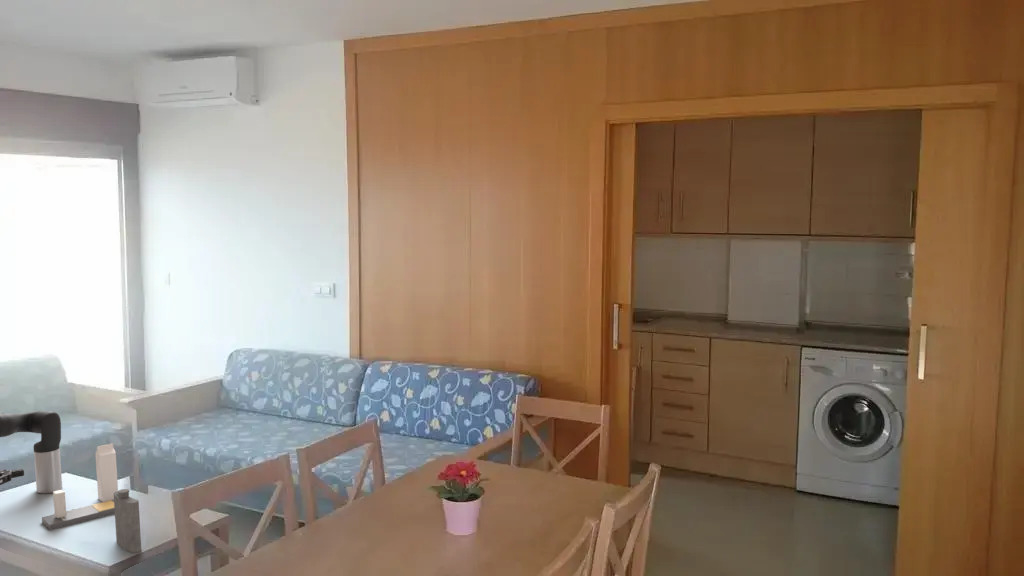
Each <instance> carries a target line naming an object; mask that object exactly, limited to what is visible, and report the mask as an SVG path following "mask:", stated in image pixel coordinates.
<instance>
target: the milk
mask: <svg viewBox="0 0 1024 576" xmlns="http://www.w3.org/2000/svg"><path fill="white" fill-rule="evenodd" d="M94 453H95V454H94V455H95V467H96V483H97V485H96V486H97V498H98V499H99V501H101V503H102V502H106V501H110V500H114V492H116V491H119V484H118V483H119V482H118V470H117V467H118V466H117V455H116V454H117V452H116V450H115V448H114V444H113V443H109V444H104V445H98V446H97V447H96V451H95V452H94Z"/></svg>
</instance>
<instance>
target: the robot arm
mask: <svg viewBox="0 0 1024 576" xmlns="http://www.w3.org/2000/svg"><path fill="white" fill-rule="evenodd" d="M16 433H35V434H40V441H37V442H36V443H34V444H33V457H34V471H35V484H36V485H35V487H36V493H38V494H49V493H50V494H51V493H53V491H58V490H63V480H62V479H63V478H62V477H63V476H62V465H61V463H62V461H61V452H60V451H61V449H60V448H61V447H60V443H61V440H62V421H61V417H60V415H59V413H58V412H56V411H49V410H35V411H30V412H24V413H6V412H4V413H3V412H1V413H0V438H4V437H8V436H11V435H14V434H16ZM23 476H25V470H24V469H23V468H18V469H14V470H10V469H8V470H7V469H0V486H1V485H4V484H7V483H8V482H11V481H12V480H13V479H14V478H19V477H23Z"/></svg>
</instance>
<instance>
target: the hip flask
mask: <svg viewBox="0 0 1024 576" xmlns="http://www.w3.org/2000/svg"><path fill="white" fill-rule="evenodd" d="M113 500H114V508H115V513H114V520H115V537H116V544H117V545H118V546H119V547H120V548H121V549H123V550H125V551H127V552H129V553H131V554H137V553H140V552H141V551H142V537H141V520H140V504H139V503H140V502H139V499H136V498H133V497H131V496H130V489H129V488H122V489H118V491H116V492H114V499H113Z"/></svg>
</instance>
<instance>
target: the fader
mask: <svg viewBox="0 0 1024 576" xmlns="http://www.w3.org/2000/svg"><path fill="white" fill-rule="evenodd" d="M52 497H53V511H54V514H55V516H56V517H57V518H60V517H64V516H66V511H67V506H66V504H67V503H66V491H64V490H63V489H60V490H58V491H53V492H52Z"/></svg>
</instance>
